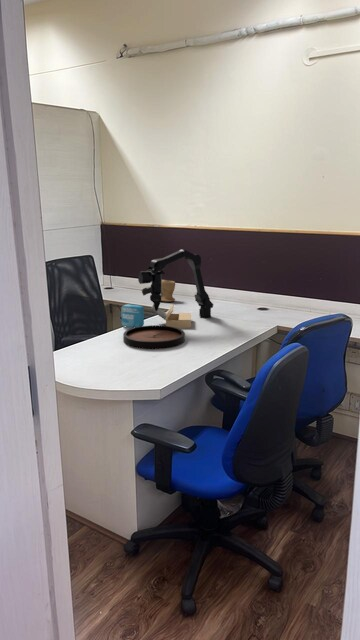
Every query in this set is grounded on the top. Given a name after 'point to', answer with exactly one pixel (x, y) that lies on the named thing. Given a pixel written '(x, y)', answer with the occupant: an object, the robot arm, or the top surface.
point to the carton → (179, 320)
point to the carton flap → (163, 314)
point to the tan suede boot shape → (168, 290)
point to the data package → (132, 315)
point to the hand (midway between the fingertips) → (156, 309)
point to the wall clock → (154, 337)
